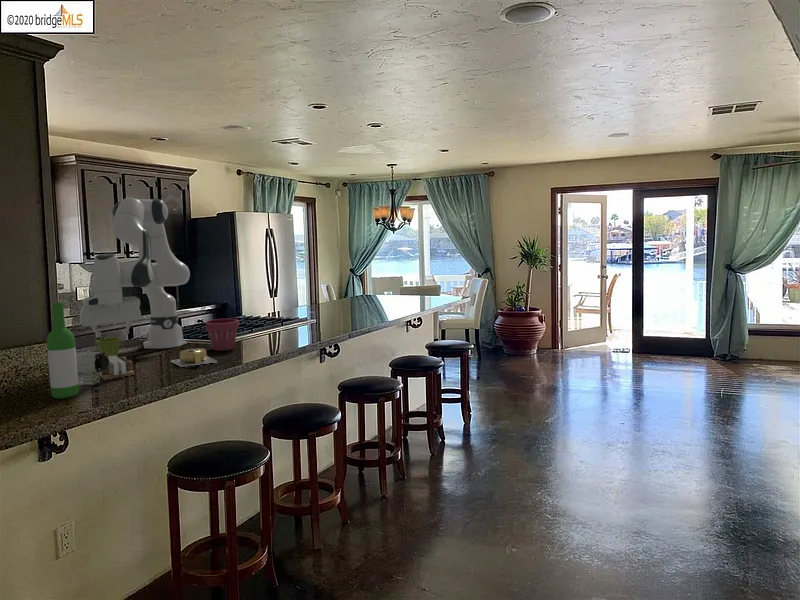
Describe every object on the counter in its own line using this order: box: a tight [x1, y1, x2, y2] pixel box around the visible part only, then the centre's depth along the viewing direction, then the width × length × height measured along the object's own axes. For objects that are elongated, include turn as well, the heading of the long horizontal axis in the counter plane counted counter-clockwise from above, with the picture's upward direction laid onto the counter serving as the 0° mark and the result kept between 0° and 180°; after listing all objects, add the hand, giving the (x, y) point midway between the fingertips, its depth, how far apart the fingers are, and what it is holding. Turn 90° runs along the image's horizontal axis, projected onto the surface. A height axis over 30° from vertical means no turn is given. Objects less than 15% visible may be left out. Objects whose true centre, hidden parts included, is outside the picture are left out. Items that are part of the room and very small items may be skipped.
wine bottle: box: [46, 301, 80, 400], centre depth 187 cm, size 8×8×30 cm
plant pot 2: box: [204, 318, 240, 352], centre depth 265 cm, size 14×14×13 cm
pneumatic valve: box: [76, 349, 109, 386], centre depth 203 cm, size 6×12×12 cm, turn 84°
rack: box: [95, 356, 135, 381], centre depth 219 cm, size 16×10×5 cm, turn 36°
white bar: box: [107, 355, 126, 375], centre depth 219 cm, size 18×4×4 cm, turn 36°
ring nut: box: [179, 348, 208, 363], centre depth 234 cm, size 14×10×4 cm
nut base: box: [170, 355, 218, 368], centre depth 236 cm, size 14×14×1 cm
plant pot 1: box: [95, 337, 122, 358], centre depth 246 cm, size 9×9×9 cm
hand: (112, 335), depth 218 cm, fingers open, 8 cm apart
